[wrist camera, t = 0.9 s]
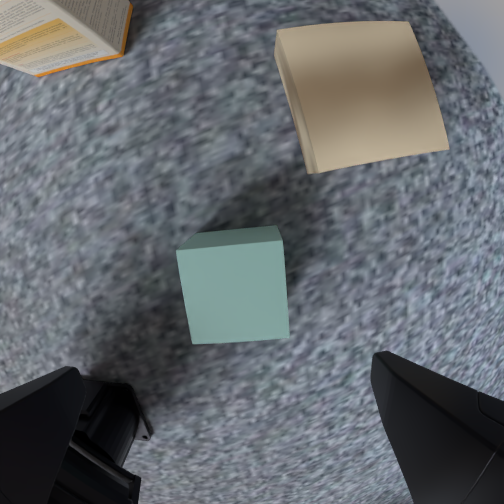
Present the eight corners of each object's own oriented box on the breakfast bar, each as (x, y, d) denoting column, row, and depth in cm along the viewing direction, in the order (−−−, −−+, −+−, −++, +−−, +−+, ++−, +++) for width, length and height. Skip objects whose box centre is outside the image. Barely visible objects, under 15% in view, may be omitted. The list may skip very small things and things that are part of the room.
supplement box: (136, 4, 15) (46, -101, 3) (125, 58, 17) (2, -33, 4) (47, 28, 16) (-58, -27, 3) (35, 79, 17) (-90, 43, 4)
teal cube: (282, 301, 20) (289, 337, 15) (206, 307, 20) (192, 344, 16) (276, 224, 19) (282, 240, 14) (196, 232, 19) (175, 250, 14)
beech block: (417, 152, 18) (449, 149, 14) (306, 174, 19) (319, 172, 15) (385, 44, 16) (408, 21, 12) (273, 56, 17) (277, 30, 13)
